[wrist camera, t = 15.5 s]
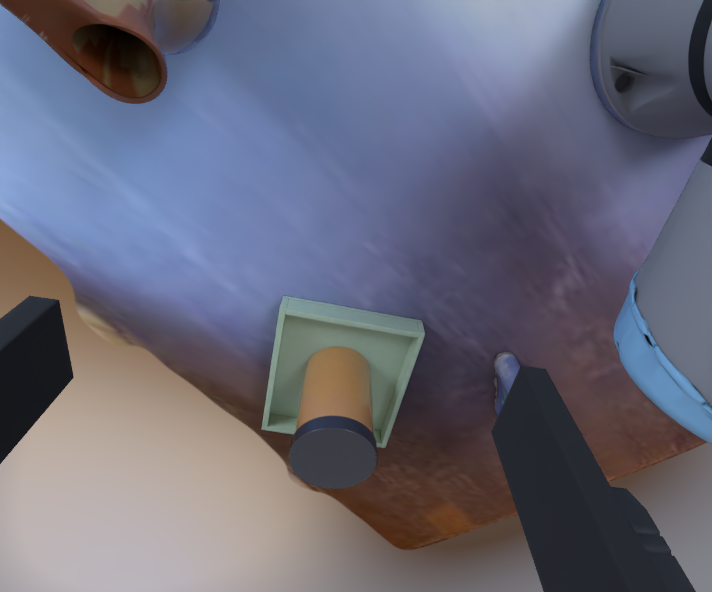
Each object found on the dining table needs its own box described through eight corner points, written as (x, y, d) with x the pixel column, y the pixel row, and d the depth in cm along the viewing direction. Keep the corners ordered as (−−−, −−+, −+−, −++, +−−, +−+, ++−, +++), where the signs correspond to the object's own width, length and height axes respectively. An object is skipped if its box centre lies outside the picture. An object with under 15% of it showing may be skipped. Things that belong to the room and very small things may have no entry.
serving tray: (422, 320, 46) (425, 334, 43) (384, 431, 54) (385, 448, 51) (283, 295, 44) (279, 308, 42) (265, 413, 52) (261, 429, 50)
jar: (380, 351, 47) (386, 436, 37) (364, 404, 51) (366, 494, 41) (308, 339, 46) (295, 422, 36) (297, 393, 50) (283, 482, 40)
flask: (492, 351, 48) (526, 428, 38) (520, 348, 47) (561, 424, 38) (492, 414, 52) (522, 496, 43) (518, 411, 52) (554, 493, 43)
